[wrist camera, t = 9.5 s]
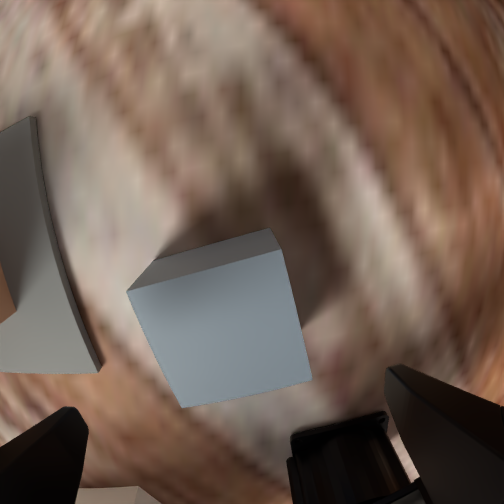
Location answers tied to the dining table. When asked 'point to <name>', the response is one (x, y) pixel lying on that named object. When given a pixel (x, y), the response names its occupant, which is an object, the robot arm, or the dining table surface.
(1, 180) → the tower base
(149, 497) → the milk
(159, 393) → the dining table surface
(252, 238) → the slate block
